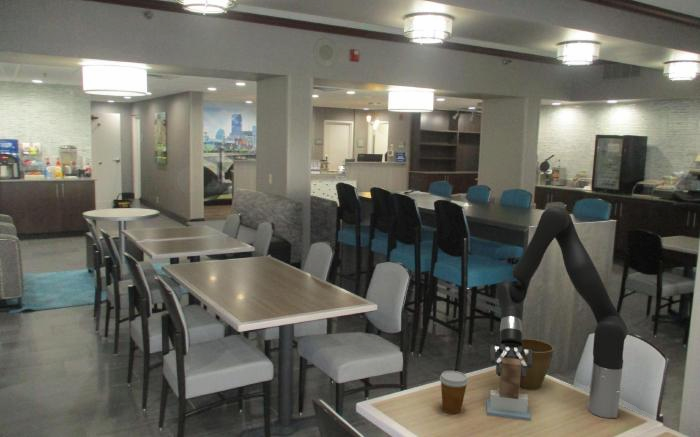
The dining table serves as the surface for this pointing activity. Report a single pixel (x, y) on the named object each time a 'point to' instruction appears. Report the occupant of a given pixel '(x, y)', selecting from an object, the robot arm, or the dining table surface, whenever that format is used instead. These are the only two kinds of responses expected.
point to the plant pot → (536, 362)
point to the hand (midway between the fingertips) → (511, 376)
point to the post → (510, 378)
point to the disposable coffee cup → (453, 390)
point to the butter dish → (508, 406)
